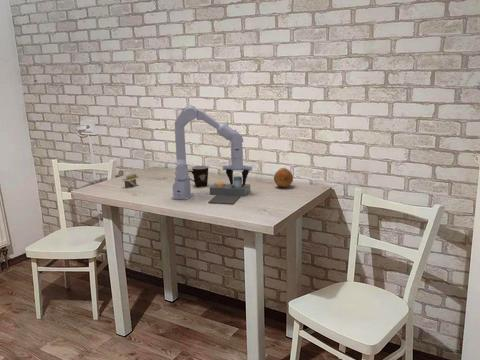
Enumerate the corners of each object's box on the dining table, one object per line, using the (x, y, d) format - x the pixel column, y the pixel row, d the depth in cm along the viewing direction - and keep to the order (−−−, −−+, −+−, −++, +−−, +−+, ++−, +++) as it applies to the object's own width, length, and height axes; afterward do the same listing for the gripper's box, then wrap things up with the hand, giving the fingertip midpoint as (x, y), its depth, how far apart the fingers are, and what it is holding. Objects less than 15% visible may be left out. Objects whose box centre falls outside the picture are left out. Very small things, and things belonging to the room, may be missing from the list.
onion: (270, 186, 237) (270, 167, 235) (287, 183, 241) (287, 165, 238) (278, 190, 229) (278, 171, 226) (296, 188, 232) (296, 168, 230)
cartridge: (241, 194, 224) (240, 178, 222) (233, 194, 225) (232, 178, 223) (243, 192, 227) (242, 176, 225) (235, 192, 228) (234, 176, 226)
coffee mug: (210, 183, 246) (209, 165, 244) (207, 187, 238) (207, 169, 236) (189, 183, 248) (188, 165, 245) (186, 187, 239) (184, 169, 237)
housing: (245, 196, 220) (245, 189, 219) (209, 194, 225) (208, 187, 224) (250, 190, 229) (250, 184, 228) (215, 189, 234) (215, 182, 233)
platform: (152, 184, 250) (151, 173, 248) (126, 192, 235) (125, 180, 234) (136, 182, 256) (135, 171, 255) (111, 189, 242) (110, 177, 240)
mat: (233, 204, 207) (233, 203, 207) (208, 203, 211) (208, 202, 210) (240, 197, 219) (240, 196, 218) (216, 196, 222) (216, 195, 222)
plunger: (222, 192, 226) (222, 184, 225) (215, 191, 227) (215, 184, 226) (224, 190, 229) (224, 182, 228) (218, 190, 230) (217, 182, 229)
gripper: (253, 156, 223) (254, 183, 227) (225, 155, 227) (226, 182, 231) (249, 159, 217) (250, 186, 220) (220, 158, 221) (222, 185, 224)
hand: (237, 184), depth 225 cm, fingers open, 6 cm apart
